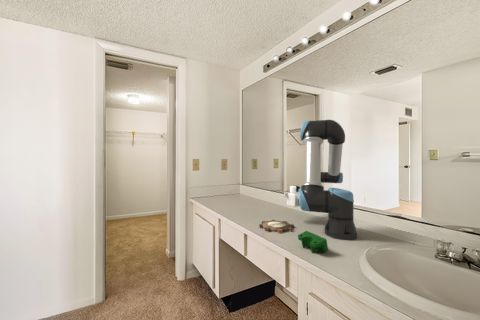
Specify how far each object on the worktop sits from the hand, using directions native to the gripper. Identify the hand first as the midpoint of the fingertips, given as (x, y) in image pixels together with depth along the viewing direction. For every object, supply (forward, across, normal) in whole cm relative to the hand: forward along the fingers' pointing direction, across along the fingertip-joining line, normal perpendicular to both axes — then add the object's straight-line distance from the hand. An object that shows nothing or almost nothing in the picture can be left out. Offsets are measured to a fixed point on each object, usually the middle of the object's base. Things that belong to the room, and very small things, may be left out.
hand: (291, 195), depth 126 cm
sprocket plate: (+12, +2, -17) cm, 21 cm away
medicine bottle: (-5, 0, -7) cm, 8 cm away
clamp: (+27, -25, -18) cm, 41 cm away
